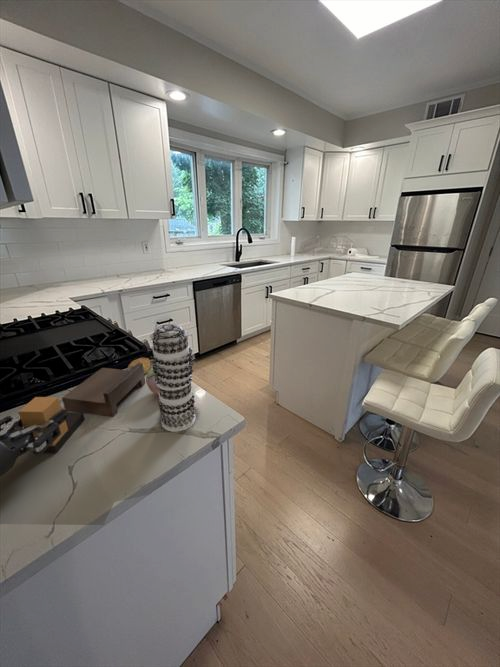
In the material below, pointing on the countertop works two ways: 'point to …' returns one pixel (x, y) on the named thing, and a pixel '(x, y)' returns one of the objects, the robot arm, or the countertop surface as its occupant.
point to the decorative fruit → (152, 382)
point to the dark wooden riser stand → (103, 390)
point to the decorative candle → (173, 377)
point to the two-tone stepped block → (43, 411)
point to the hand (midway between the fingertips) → (52, 410)
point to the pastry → (144, 361)
